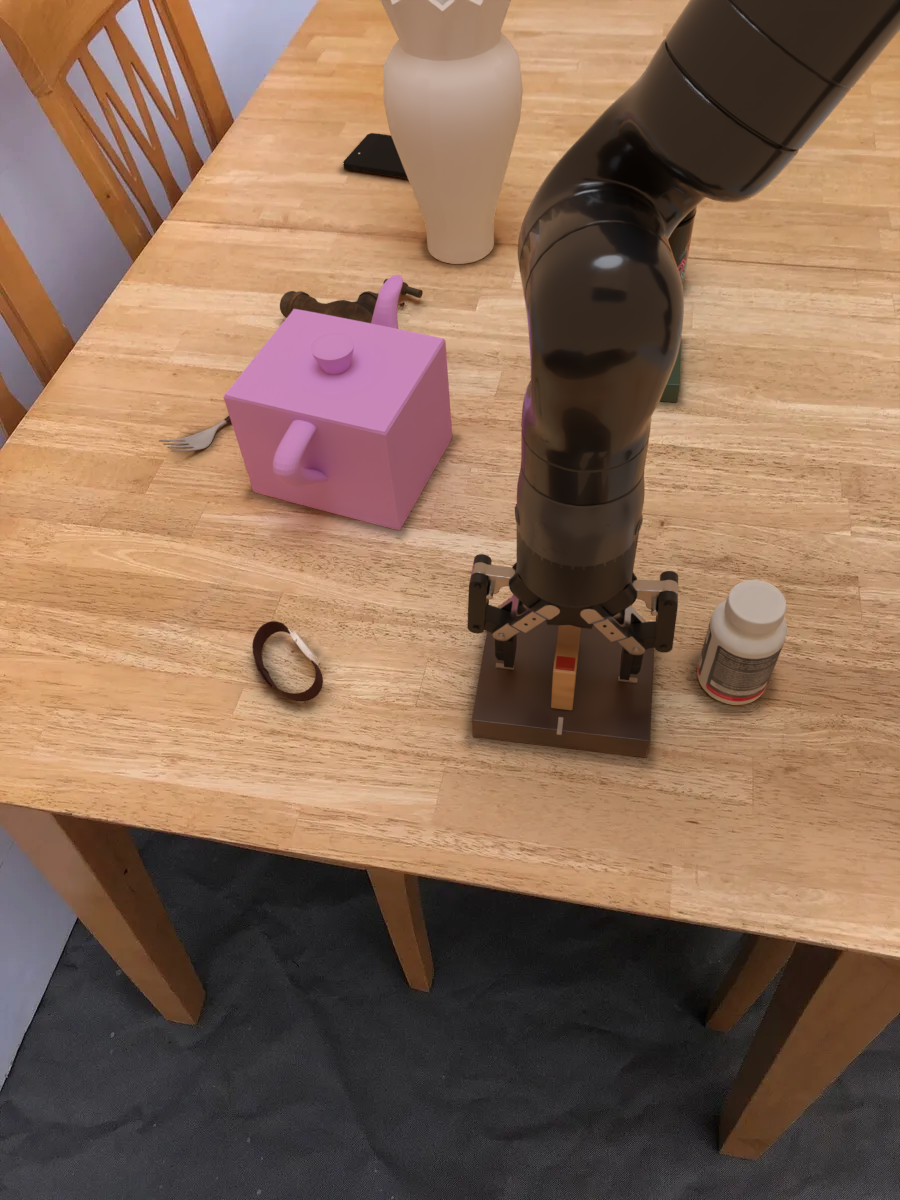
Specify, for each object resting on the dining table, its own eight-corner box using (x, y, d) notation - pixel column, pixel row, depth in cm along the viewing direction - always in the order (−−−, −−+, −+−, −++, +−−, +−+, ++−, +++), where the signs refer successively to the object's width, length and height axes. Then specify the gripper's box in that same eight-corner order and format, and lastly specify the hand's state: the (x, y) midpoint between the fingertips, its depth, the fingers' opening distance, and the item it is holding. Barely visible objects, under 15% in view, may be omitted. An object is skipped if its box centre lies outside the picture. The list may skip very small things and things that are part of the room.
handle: (559, 637, 72) (562, 596, 68) (580, 639, 72) (584, 598, 68) (550, 708, 68) (553, 669, 64) (572, 711, 68) (576, 672, 64)
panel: (651, 643, 74) (655, 624, 72) (646, 762, 68) (650, 744, 66) (491, 627, 76) (490, 608, 74) (471, 741, 70) (470, 723, 68)
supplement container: (663, 309, 101) (677, 220, 93) (611, 288, 104) (619, 200, 96) (695, 279, 104) (710, 191, 96) (643, 260, 107) (654, 173, 99)
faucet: (262, 340, 102) (351, 286, 110) (382, 386, 94) (466, 325, 103) (255, 299, 98) (346, 247, 107) (378, 344, 91) (466, 284, 99)
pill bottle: (781, 690, 71) (813, 614, 63) (722, 717, 70) (748, 643, 62) (739, 639, 74) (765, 561, 66) (682, 664, 73) (702, 587, 65)
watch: (340, 688, 73) (332, 663, 71) (288, 719, 72) (279, 694, 69) (292, 626, 77) (284, 599, 75) (243, 654, 76) (232, 628, 73)
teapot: (478, 392, 94) (473, 269, 83) (377, 570, 81) (355, 452, 70) (345, 363, 98) (323, 243, 87) (227, 528, 85) (184, 410, 74)
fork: (303, 386, 97) (299, 370, 95) (178, 466, 90) (172, 451, 89) (287, 375, 98) (284, 360, 96) (163, 454, 91) (157, 439, 90)
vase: (411, 290, 106) (382, 8, 83) (390, 224, 115) (359, -48, 92) (536, 269, 107) (541, -16, 84) (505, 205, 116) (502, -68, 93)
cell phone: (467, 189, 119) (467, 182, 118) (342, 170, 123) (341, 163, 123) (491, 156, 124) (491, 149, 123) (369, 138, 128) (369, 132, 128)
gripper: (698, 481, 57) (665, 633, 70) (472, 464, 60) (479, 614, 72) (697, 574, 53) (662, 718, 66) (453, 552, 55) (464, 695, 68)
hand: (566, 664), depth 69 cm, fingers open, 8 cm apart
